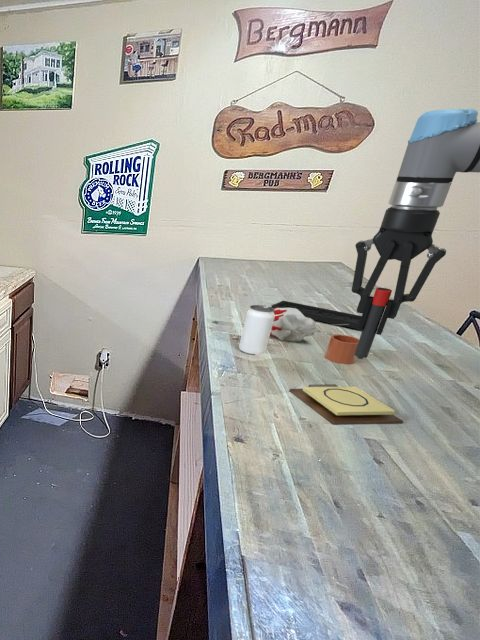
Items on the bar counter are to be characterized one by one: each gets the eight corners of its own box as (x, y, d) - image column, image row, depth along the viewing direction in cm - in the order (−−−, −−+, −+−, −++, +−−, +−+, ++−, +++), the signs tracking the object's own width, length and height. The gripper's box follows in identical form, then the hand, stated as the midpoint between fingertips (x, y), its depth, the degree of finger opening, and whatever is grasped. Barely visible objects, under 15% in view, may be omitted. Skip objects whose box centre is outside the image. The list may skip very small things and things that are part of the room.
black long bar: (379, 314, 146) (356, 332, 128) (376, 322, 148) (353, 342, 129) (289, 297, 164) (257, 311, 145) (287, 305, 165) (255, 320, 147)
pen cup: (359, 365, 114) (367, 343, 112) (335, 365, 114) (342, 343, 112) (342, 355, 120) (349, 334, 118) (318, 356, 120) (325, 334, 117)
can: (233, 348, 124) (242, 306, 119) (248, 344, 127) (258, 303, 122) (254, 357, 119) (265, 313, 114) (270, 352, 122) (282, 309, 117)
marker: (370, 359, 93) (395, 290, 87) (361, 361, 92) (386, 291, 86) (358, 354, 95) (381, 287, 89) (349, 356, 94) (373, 288, 88)
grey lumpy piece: (314, 345, 125) (252, 345, 130) (303, 331, 135) (246, 331, 140) (318, 314, 122) (255, 314, 127) (307, 302, 131) (249, 303, 137)
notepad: (394, 414, 90) (395, 410, 90) (336, 415, 90) (338, 411, 89) (354, 389, 100) (355, 386, 99) (302, 390, 99) (303, 386, 99)
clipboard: (402, 423, 89) (405, 416, 89) (333, 424, 89) (335, 417, 88) (350, 390, 102) (352, 383, 102) (289, 391, 102) (291, 384, 101)
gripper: (357, 206, 84) (320, 326, 94) (473, 212, 74) (418, 346, 84) (364, 203, 89) (328, 317, 99) (472, 209, 79) (421, 335, 89)
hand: (369, 330), depth 91 cm, fingers closed on marker, 2 cm apart
